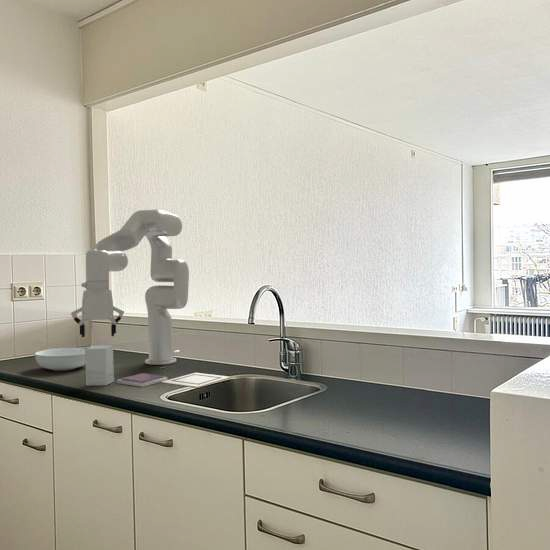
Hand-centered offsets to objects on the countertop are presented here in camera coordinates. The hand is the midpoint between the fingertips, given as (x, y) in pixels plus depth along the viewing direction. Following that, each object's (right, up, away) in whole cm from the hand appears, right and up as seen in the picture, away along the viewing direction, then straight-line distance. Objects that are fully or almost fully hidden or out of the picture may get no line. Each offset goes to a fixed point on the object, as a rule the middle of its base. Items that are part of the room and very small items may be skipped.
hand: (98, 336), depth 195 cm
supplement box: (0, -17, +1) cm, 17 cm away
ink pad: (+15, -16, +3) cm, 22 cm away
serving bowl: (-23, -16, +30) cm, 41 cm away
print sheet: (+33, -16, +4) cm, 37 cm away
